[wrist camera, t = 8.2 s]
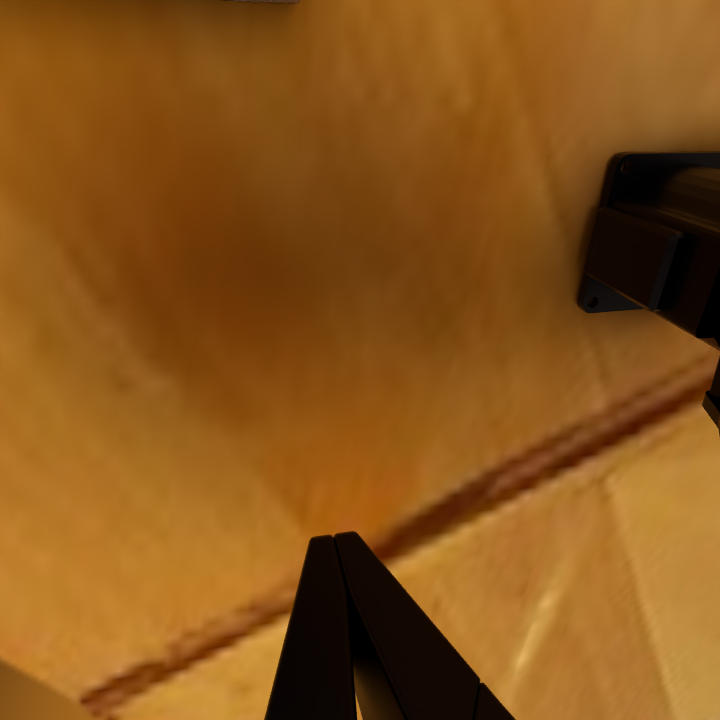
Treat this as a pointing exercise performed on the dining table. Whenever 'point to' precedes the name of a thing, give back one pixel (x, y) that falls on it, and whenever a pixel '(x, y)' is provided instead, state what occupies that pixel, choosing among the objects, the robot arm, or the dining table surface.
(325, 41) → the dining table surface
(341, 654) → the robot arm
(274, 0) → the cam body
